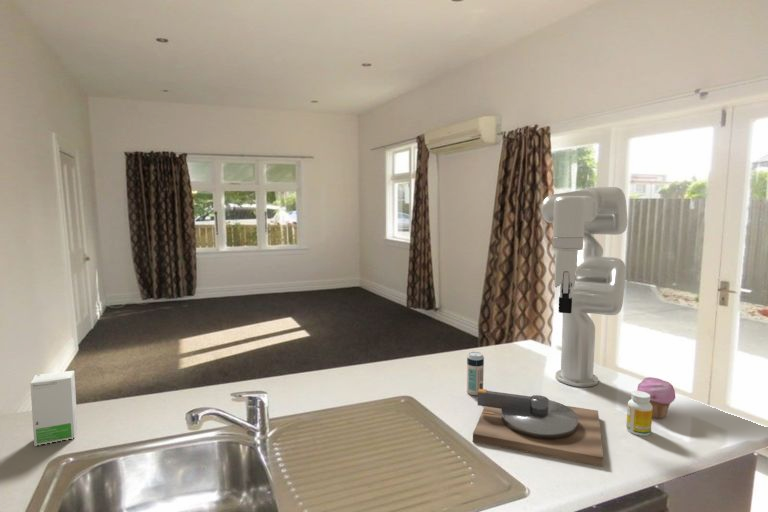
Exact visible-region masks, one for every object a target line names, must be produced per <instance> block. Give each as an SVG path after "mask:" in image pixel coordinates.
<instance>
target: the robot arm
mask: <svg viewBox="0 0 768 512" xmlns="http://www.w3.org/2000/svg"><path fill="white" fill-rule="evenodd" d="M540 208H541V209H540V212H541V216H542V219H543V220H544V221H545V222H546V223H548V224H549V223H550V224H552V246H551V248H552V250H555V251H556V253H555V260H554V261H555V264H554V265H555V266H554V288H558V287H559V289H560V290H559V297H558V313H561V314H562V331H561V353H560V354H561V358H560V369H559V370H557V371H556V372H555V375H554V376H555V378H556V380H557V381H559V382H560V383H562V384H565V385H568V386H573V387H580V388H581V387H583V388H587V387H588V388H589V387H590V388H591V387H593V386H596V385H598V384H599V377H598V376H597V375H595V374H594V367H595V364H594V362H595V346H596V345H595V344H596V325H595V323H594V321H593V319H592V318H591V317H590V315H589V314H593V315H594V314H595V315H605V316H616V315H618V314H619V313H620V312H621V310H622V307H623V303H624V297H625V296H624V295H625V289H626V280H627V277H626V276H627V268H626V265H625V262H624V261H623V260H622V259H621V258H618V257H610V256H603V255H604V248H603V246H602V244H601V243H600V242H599V241H598V240H597V239H596V238H595V237H593V236H592V235H611V236H612V235H617V236H618V235H622V234H623V233H624V232H625V231H626V230H627V227H628V222H629V221H628V209H627V199H626V195H625V193H624V191H623V190H622V189H621V188H620V187H617V186H608V187H607V186H604V187H601V186H600V187H599V186H598V187H597V186H596V187H586V188H583V189H580V190H574V191H573V190H571V191H568V192H560V193H555V194H549V195H548V196H546V197H545V198H544V199H543V201H542V204H541V207H540Z"/></svg>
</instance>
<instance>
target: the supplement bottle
mask: <svg viewBox="0 0 768 512" xmlns="http://www.w3.org/2000/svg"><path fill="white" fill-rule="evenodd" d="M626 408H627V409H626V410H627V411H626V422H625V423H626V424H625V425H626V426H625V427H626V430H627V431H628V432H629V433H631V434H633V435H634V436H635V435H636V436H641V437H646V436H649V435H650V434H652V422H653V418H652V410H653V407H652V404H651V403H650V395H649V394H648V393H646V392H642V391H637V390H634V391H632V392H631V399H629V400H628V401H627V407H626Z"/></svg>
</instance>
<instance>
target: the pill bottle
mask: <svg viewBox="0 0 768 512" xmlns="http://www.w3.org/2000/svg"><path fill="white" fill-rule="evenodd" d="M484 362H485V358H484V355H483V353H481V352H478V351H472V352H469V353H468V354H467V359H466V363H467V364H466V392H467V393H468V394H469V395H471V396H475V397H476V396H477V397H478V390H479V389H484V376H485V375H484V372H485V371H484V369H485V368H484V367H485V365H484V364H485V363H484Z"/></svg>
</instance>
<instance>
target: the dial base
mask: <svg viewBox="0 0 768 512" xmlns="http://www.w3.org/2000/svg"><path fill="white" fill-rule="evenodd" d="M566 406H567V407H569V408H570V409H572V410H573V411H574V412H575V413H576V415H577V416H578V429H577V431H576V432H575V433H574V434H572V435H570V436H568V437H564V438H558V439H543V438H536V437H531V436H527V435H524V434H521V433H519V432H516V431H514V430H512V429H511V428H509V427H508V426H507V425H506V424H505V423H504V422H503V421H502V418H501V411H502V409H500V408H493V407H486V406H483V410H482V412H481V413H480V415H479V418H478V421H477V423H476V425H475V428H474V430H473V432H472V442H474V443H477V444H478V443H479V444H483V445H487V446H494V447H500V448H504V449H510V450H514V451H515V450H516V451H520V452H525V453H530V454H531V453H532V454H536V455H541V456H547V457H550V458H551V457H552V458H557V459H561V460H562V459H563V460H565V461H566V460H567V461H573V462H576V463H577V462H579V463H583V464H588V465H592V466H593V465H594V466H599V467H604V452H603V451H604V450H603V444H602V434H601V433H602V432H601V427H600V426H601V425H600V416H599V410H597V409H590V408H583V407H576V406H570V405H566Z"/></svg>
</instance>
